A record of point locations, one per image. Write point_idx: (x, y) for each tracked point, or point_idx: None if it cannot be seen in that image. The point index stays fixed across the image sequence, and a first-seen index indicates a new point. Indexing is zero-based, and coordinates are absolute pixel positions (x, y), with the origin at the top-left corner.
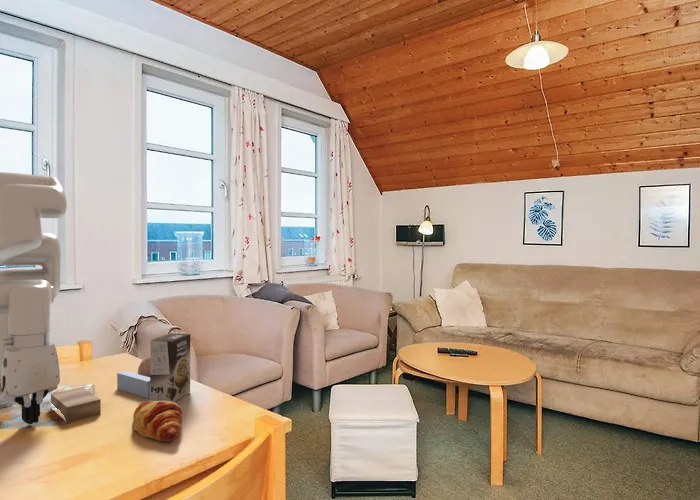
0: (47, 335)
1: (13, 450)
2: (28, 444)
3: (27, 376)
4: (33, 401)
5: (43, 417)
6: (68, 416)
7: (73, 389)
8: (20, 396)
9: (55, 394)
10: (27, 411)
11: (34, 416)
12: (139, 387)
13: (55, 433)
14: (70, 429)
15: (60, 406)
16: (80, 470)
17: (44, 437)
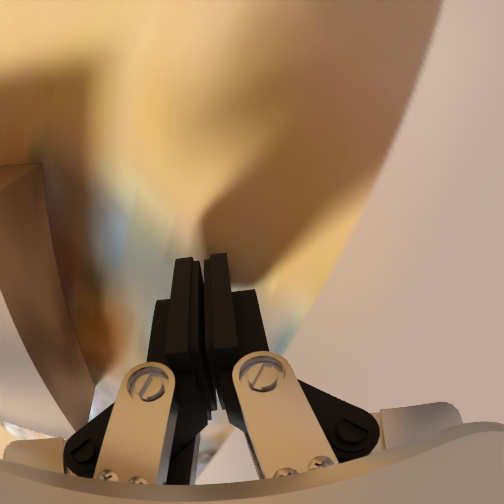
0: None
1: (408, 13)
2: (333, 6)
3: None
4: (195, 404)
5: (130, 335)
6: (13, 179)
7: (5, 420)
8: (421, 437)
9: (65, 431)
10: (246, 333)
11: (199, 287)
12: None
13: (145, 36)
14: (59, 43)
15: (36, 325)
16: None
17: (223, 23)
